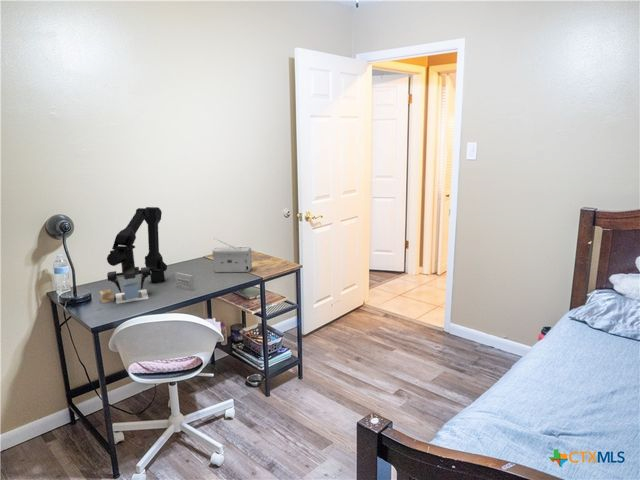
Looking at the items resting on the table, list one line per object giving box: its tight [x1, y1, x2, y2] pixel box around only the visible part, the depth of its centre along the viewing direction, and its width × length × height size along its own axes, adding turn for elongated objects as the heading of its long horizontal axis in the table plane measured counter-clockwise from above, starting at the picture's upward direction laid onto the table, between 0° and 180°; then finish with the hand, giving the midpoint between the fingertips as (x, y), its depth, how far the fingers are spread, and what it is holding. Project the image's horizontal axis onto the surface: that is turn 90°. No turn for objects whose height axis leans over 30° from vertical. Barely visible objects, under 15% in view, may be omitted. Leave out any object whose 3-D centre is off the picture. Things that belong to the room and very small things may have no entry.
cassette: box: [174, 271, 195, 291], centre depth 224 cm, size 12×2×8 cm, turn 59°
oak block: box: [99, 288, 115, 304], centre depth 208 cm, size 5×5×5 cm
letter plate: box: [115, 288, 149, 304], centre depth 214 cm, size 14×14×1 cm
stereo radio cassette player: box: [211, 237, 253, 274], centre depth 249 cm, size 21×8×20 cm, turn 90°
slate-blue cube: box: [123, 281, 139, 299], centre depth 213 cm, size 6×6×6 cm
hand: (131, 290), depth 213 cm, fingers open, 9 cm apart
